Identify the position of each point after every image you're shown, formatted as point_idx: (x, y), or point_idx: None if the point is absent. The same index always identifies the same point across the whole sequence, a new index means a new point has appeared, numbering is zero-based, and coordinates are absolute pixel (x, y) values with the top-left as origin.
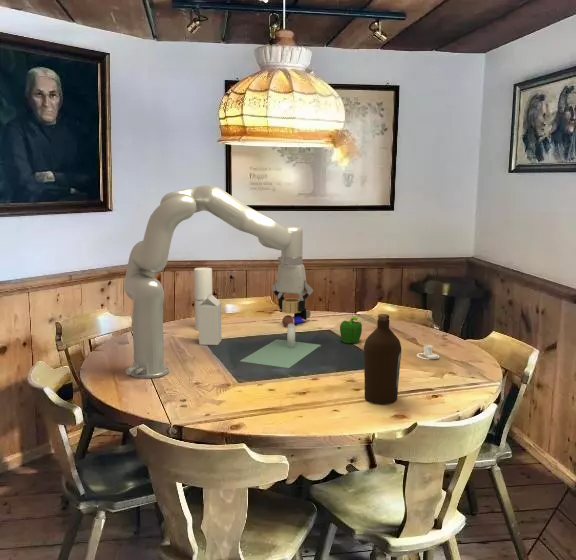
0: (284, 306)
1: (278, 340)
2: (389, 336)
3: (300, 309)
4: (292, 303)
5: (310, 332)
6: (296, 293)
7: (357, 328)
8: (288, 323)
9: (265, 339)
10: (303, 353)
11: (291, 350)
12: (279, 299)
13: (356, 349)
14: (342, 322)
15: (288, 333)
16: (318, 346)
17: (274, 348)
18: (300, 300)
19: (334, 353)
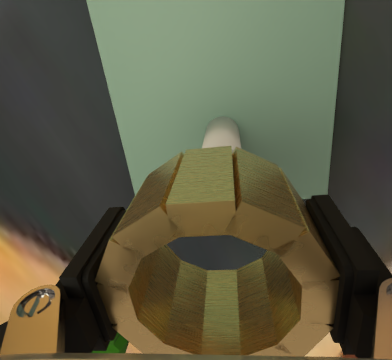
0: (252, 176)
1: (312, 186)
2: None
3: (104, 215)
4: (143, 210)
5: None
6: (11, 355)
7: None
8: (356, 357)
9: (385, 213)
10: (125, 69)
11: (193, 83)
12: (375, 264)
13: (53, 241)
14: (116, 349)
15: (227, 136)
16: (134, 186)
17: (277, 69)
18: (79, 295)
19: (75, 175)
